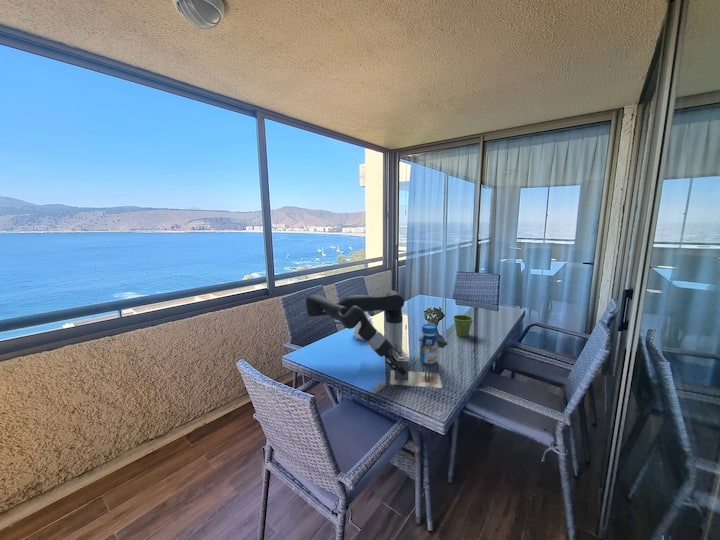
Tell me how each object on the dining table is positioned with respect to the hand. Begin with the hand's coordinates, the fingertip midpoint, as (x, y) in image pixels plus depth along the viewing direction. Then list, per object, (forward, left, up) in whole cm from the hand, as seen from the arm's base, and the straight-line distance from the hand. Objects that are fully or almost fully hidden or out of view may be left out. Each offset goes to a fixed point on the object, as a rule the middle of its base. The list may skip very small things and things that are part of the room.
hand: (404, 369), depth 128 cm
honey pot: (-49, +27, -6) cm, 56 cm away
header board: (+4, +3, -6) cm, 7 cm away
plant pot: (-4, +69, -6) cm, 69 cm away
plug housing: (-1, -1, -4) cm, 4 cm away
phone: (-12, +47, -6) cm, 49 cm away
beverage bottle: (0, +21, -6) cm, 21 cm away
